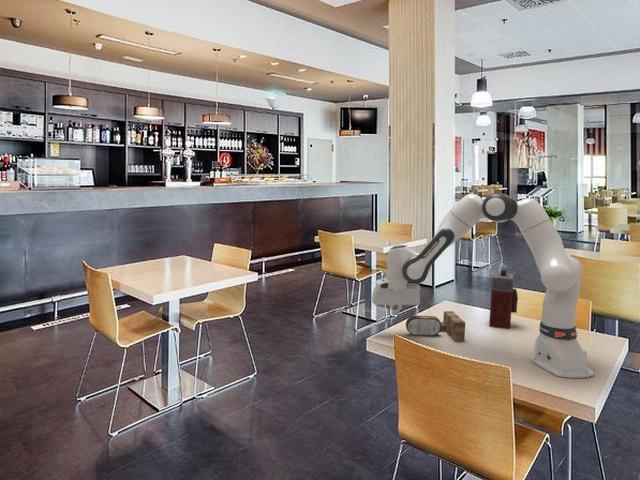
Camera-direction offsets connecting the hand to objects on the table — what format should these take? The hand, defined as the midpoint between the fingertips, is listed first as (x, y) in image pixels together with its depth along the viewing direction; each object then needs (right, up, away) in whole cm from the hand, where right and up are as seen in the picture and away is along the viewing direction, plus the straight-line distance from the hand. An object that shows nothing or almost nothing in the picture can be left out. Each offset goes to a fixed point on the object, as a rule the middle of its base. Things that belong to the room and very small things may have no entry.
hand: (395, 314), depth 208 cm
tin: (+12, -9, 0) cm, 15 cm away
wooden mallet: (+18, -9, +1) cm, 20 cm away
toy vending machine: (+51, -7, +14) cm, 54 cm away
